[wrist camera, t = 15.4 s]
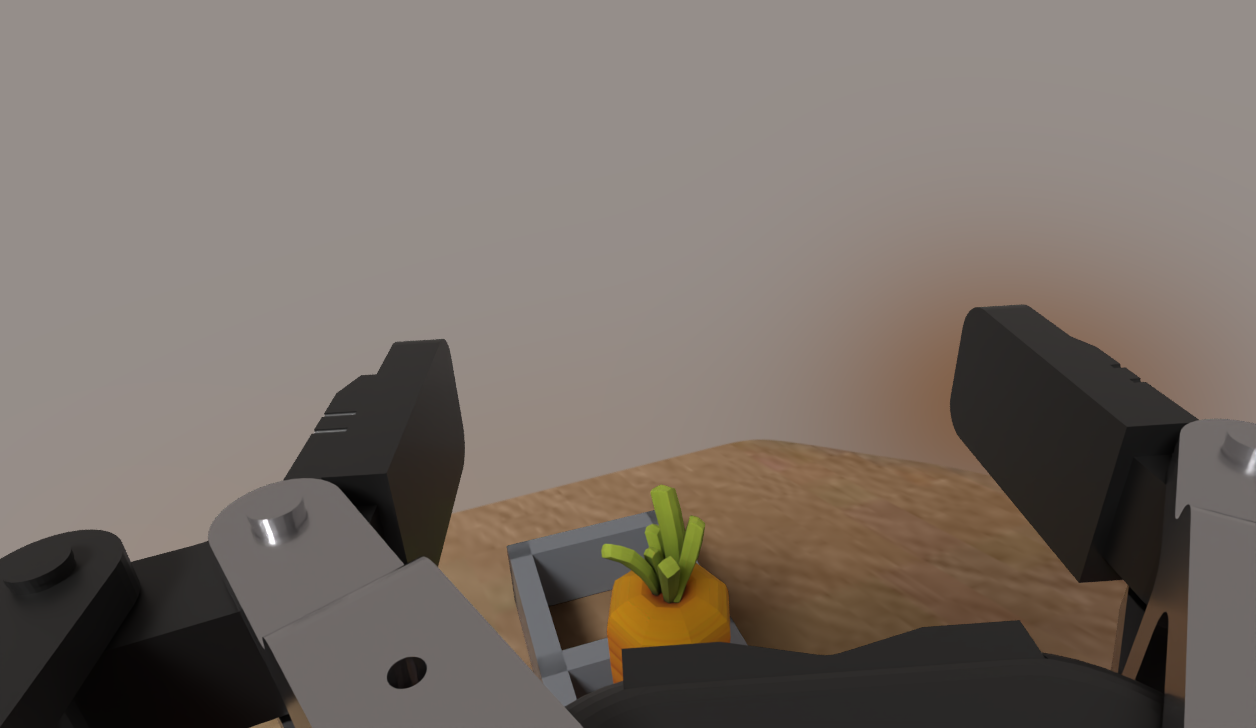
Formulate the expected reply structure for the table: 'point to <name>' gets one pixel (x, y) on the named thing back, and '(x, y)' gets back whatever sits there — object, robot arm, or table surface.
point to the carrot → (665, 588)
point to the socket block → (568, 574)
